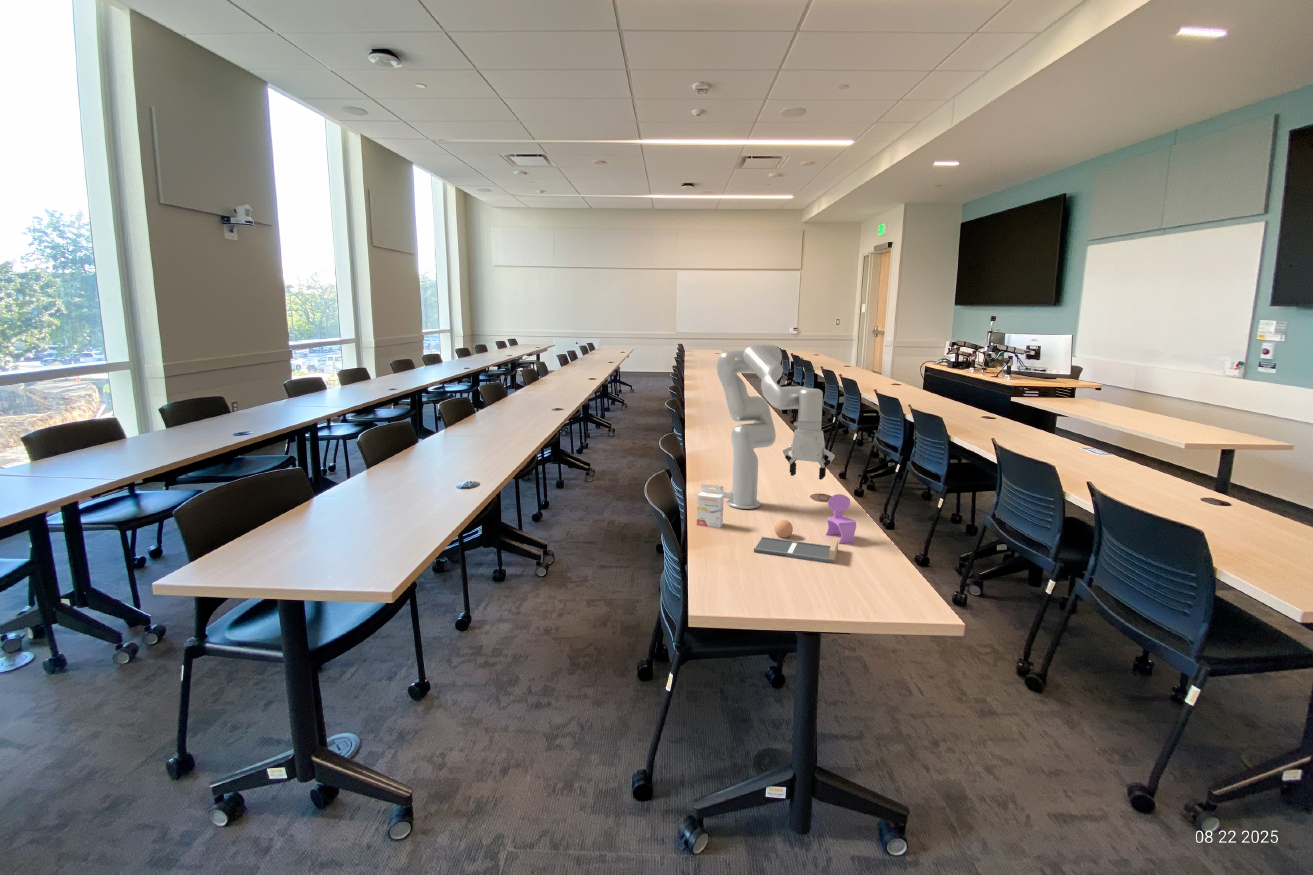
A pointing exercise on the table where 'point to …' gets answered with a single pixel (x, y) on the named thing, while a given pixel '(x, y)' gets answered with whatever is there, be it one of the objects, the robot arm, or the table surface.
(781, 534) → the ball
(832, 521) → the toy chair
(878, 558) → the table surface
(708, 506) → the ink cartridge box
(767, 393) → the robot arm
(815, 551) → the lane
